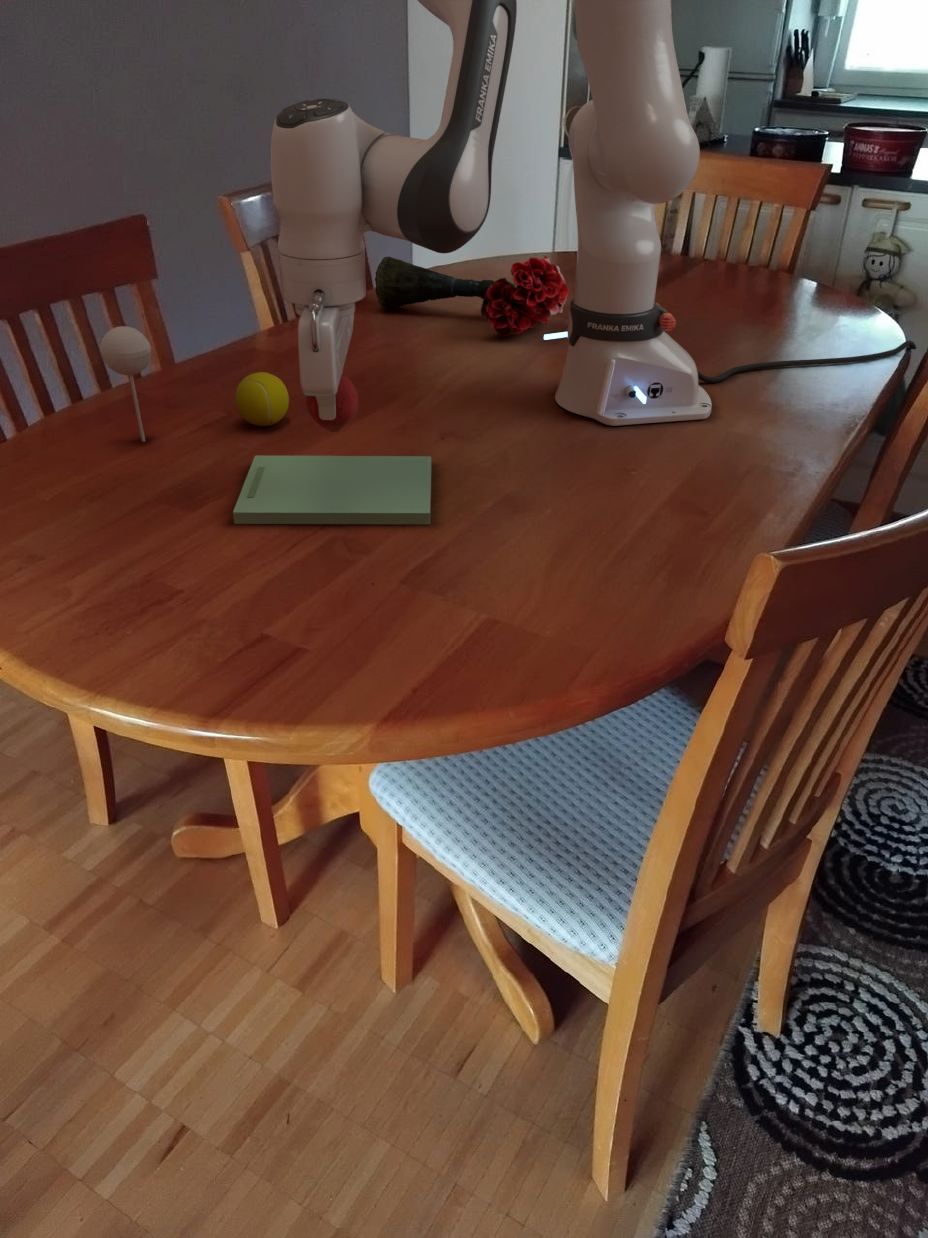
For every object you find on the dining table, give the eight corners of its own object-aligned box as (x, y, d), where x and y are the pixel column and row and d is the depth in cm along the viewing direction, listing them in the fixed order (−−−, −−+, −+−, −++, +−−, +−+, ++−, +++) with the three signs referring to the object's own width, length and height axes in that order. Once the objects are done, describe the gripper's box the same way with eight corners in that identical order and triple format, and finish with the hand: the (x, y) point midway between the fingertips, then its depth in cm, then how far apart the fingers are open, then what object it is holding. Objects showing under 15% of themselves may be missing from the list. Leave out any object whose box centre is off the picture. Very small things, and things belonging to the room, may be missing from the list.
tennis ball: (274, 437, 125) (269, 386, 121) (229, 429, 127) (222, 379, 123) (299, 418, 130) (295, 369, 126) (255, 410, 132) (250, 362, 128)
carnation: (387, 350, 177) (566, 365, 166) (347, 305, 160) (544, 318, 149) (404, 272, 179) (583, 281, 168) (366, 219, 161) (563, 225, 150)
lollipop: (176, 435, 125) (157, 323, 116) (150, 453, 120) (128, 337, 112) (136, 429, 127) (114, 317, 118) (109, 446, 122) (84, 331, 113)
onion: (350, 444, 104) (346, 374, 100) (301, 439, 105) (295, 370, 101) (365, 424, 109) (362, 356, 105) (318, 419, 110) (313, 352, 106)
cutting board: (431, 467, 118) (431, 455, 117) (430, 524, 106) (429, 512, 105) (256, 466, 118) (254, 454, 117) (234, 524, 105) (232, 511, 104)
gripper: (344, 308, 89) (352, 443, 97) (360, 254, 106) (366, 373, 114) (278, 307, 89) (291, 442, 97) (304, 254, 106) (313, 373, 114)
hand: (331, 404), depth 105 cm, fingers closed on onion, 6 cm apart
